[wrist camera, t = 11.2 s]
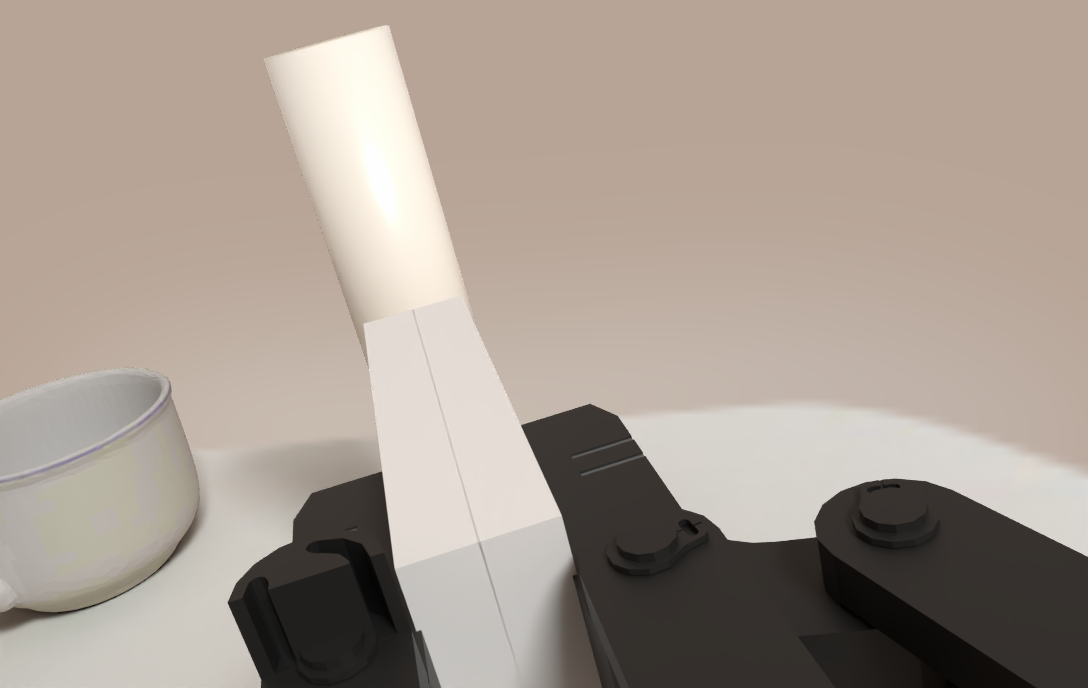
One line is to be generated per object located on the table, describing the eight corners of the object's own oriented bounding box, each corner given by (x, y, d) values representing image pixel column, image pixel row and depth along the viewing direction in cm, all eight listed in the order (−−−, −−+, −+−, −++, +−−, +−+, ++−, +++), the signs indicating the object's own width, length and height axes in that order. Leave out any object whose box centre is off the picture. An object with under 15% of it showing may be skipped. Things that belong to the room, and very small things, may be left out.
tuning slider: (631, 556, 32) (491, -1, 26) (369, 646, 32) (154, 90, 25) (600, 500, 36) (470, 0, 30) (364, 579, 35) (176, 79, 29)
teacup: (131, 494, 52) (68, 359, 49) (275, 510, 46) (214, 357, 43) (-133, 678, 41) (-234, 518, 38) (13, 728, 35) (-93, 545, 32)
